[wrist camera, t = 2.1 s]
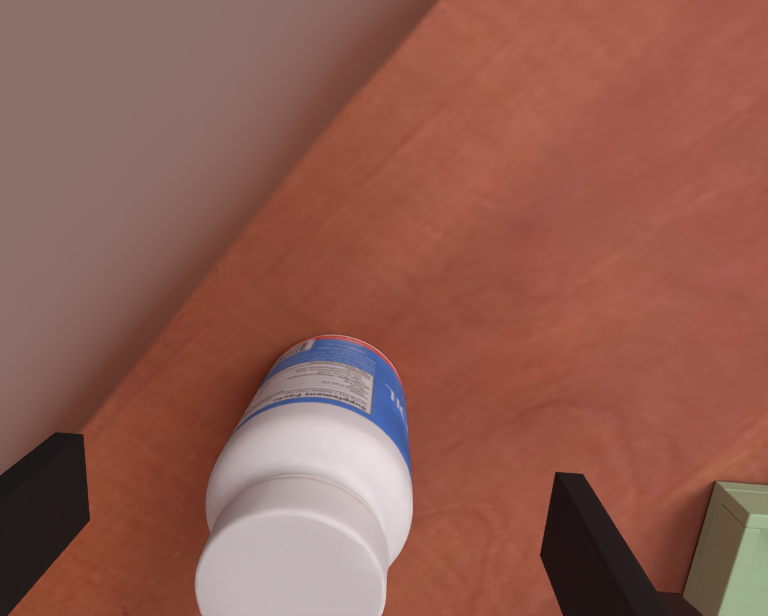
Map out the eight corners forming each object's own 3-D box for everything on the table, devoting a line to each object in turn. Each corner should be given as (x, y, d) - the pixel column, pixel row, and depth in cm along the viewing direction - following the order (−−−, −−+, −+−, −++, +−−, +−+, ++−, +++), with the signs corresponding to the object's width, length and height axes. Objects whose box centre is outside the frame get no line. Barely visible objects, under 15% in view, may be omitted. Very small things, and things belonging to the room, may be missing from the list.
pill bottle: (398, 464, 21) (405, 711, 11) (264, 452, 21) (160, 692, 11) (412, 335, 19) (434, 497, 10) (268, 322, 19) (152, 472, 10)
